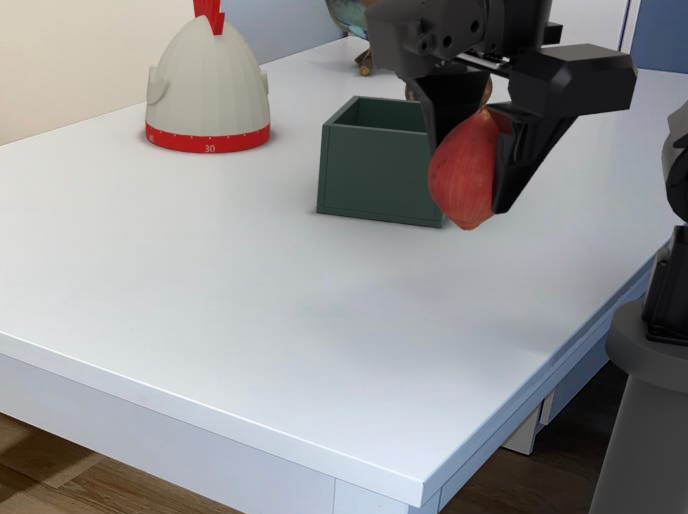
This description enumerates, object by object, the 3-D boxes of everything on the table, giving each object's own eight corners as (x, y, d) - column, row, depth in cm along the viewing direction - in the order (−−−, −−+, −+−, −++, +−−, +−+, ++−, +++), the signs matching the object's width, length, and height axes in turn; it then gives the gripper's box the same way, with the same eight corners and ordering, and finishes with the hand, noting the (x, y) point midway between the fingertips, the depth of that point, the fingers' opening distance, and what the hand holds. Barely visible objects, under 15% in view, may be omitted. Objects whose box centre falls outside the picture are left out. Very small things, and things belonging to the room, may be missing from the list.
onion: (413, 237, 66) (430, 109, 61) (431, 211, 70) (448, 88, 65) (501, 250, 64) (526, 118, 59) (514, 221, 68) (539, 97, 64)
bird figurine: (460, 60, 139) (400, -87, 130) (453, 77, 132) (389, -78, 123) (373, 107, 146) (311, -30, 137) (362, 125, 138) (296, -18, 130)
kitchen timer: (245, 115, 118) (249, -31, 109) (288, 146, 108) (297, -12, 98) (131, 124, 114) (126, -26, 105) (165, 157, 104) (162, -6, 95)
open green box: (461, 190, 96) (474, 106, 91) (440, 228, 88) (454, 137, 83) (346, 177, 99) (353, 95, 95) (315, 212, 91) (322, 124, 86)
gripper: (311, -89, 60) (296, 175, 70) (503, -54, 47) (452, 266, 57) (461, -95, 64) (428, 156, 74) (680, -65, 51) (604, 238, 60)
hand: (470, 199), depth 66 cm, fingers closed on onion, 6 cm apart
